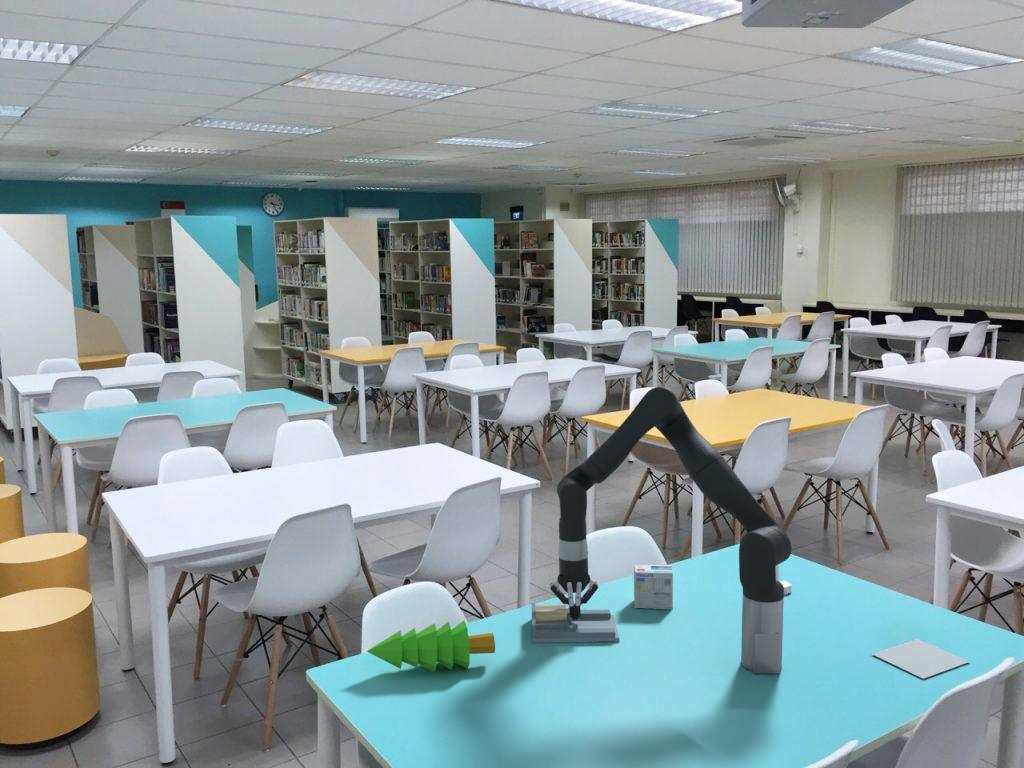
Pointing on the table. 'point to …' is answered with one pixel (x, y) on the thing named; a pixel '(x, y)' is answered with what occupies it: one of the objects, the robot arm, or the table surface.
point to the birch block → (551, 613)
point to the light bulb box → (653, 586)
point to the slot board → (588, 625)
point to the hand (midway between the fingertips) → (574, 618)
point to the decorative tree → (434, 647)
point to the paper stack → (920, 658)
